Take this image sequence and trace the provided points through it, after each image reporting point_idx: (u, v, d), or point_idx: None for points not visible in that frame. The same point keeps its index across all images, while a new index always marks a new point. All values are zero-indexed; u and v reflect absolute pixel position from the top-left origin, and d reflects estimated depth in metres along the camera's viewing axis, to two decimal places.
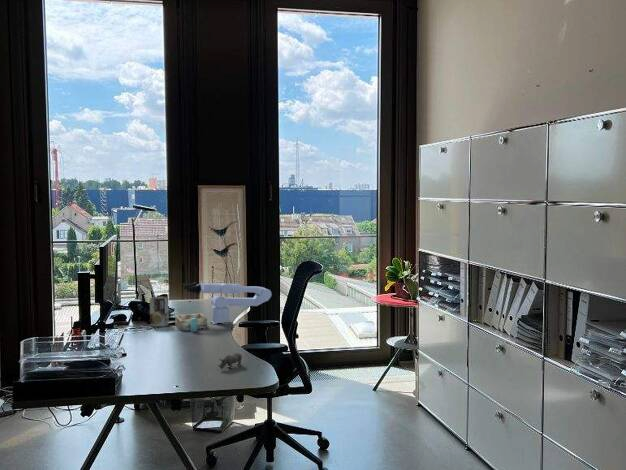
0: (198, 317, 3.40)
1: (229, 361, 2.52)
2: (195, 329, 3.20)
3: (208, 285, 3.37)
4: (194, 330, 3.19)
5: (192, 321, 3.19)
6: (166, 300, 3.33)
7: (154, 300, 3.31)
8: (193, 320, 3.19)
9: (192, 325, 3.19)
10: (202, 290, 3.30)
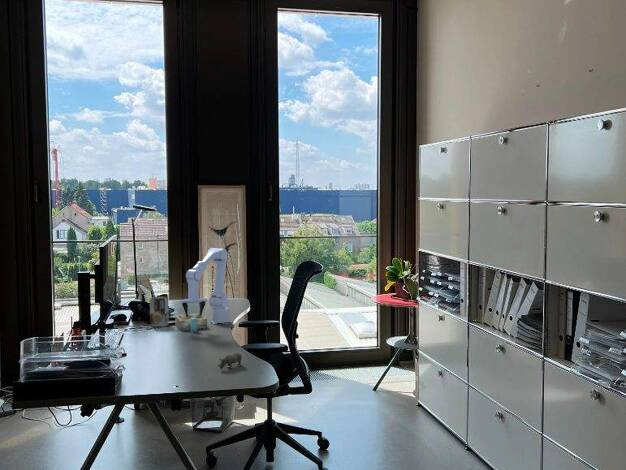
0: (198, 317, 3.40)
1: (229, 361, 2.52)
2: (195, 329, 3.20)
3: (197, 293, 3.18)
4: (194, 330, 3.19)
5: (192, 321, 3.19)
6: (166, 300, 3.33)
7: (154, 300, 3.31)
8: (193, 320, 3.19)
9: (192, 325, 3.19)
10: None
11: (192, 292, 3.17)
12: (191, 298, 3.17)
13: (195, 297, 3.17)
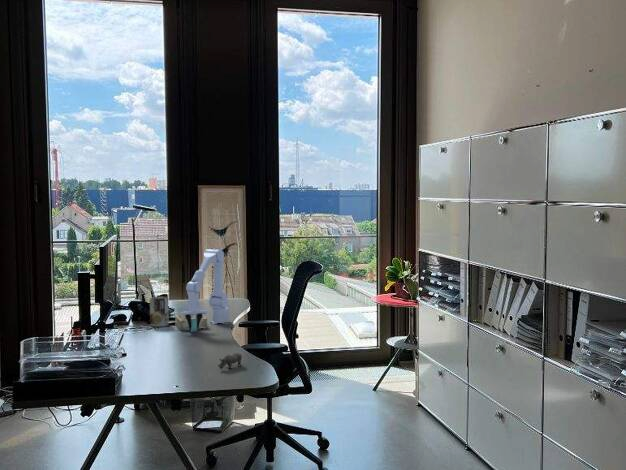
0: None
1: (229, 361, 2.52)
2: (195, 329, 3.20)
3: (197, 305, 3.19)
4: (194, 330, 3.19)
5: (192, 321, 3.19)
6: (166, 300, 3.33)
7: (154, 300, 3.31)
8: (193, 320, 3.19)
9: (192, 325, 3.19)
10: None
11: (192, 304, 3.17)
12: (191, 310, 3.17)
13: (195, 309, 3.18)
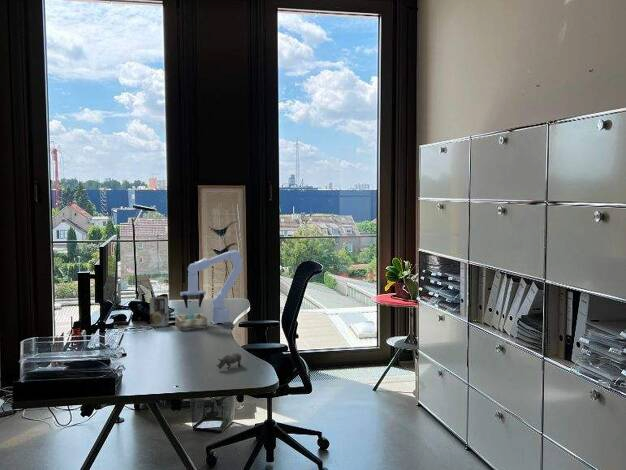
0: (198, 317, 3.40)
1: (228, 361, 2.52)
2: None
3: (197, 286, 3.38)
4: None
5: (189, 317, 3.30)
6: (166, 300, 3.33)
7: (154, 300, 3.31)
8: (190, 316, 3.30)
9: None
10: None
11: (192, 285, 3.36)
12: (191, 290, 3.37)
13: (194, 289, 3.37)
